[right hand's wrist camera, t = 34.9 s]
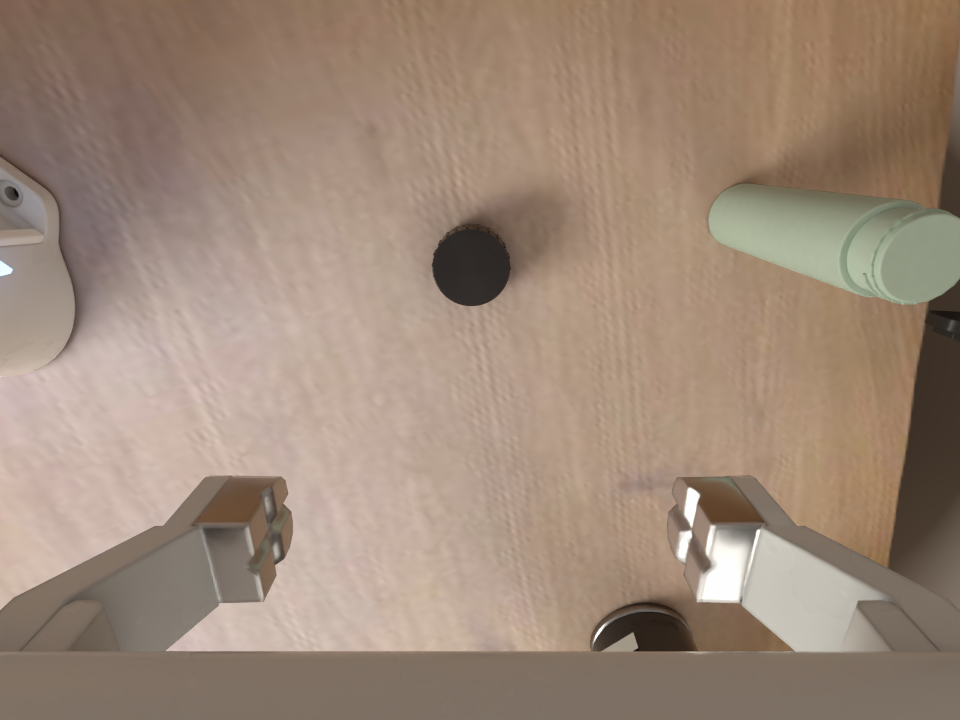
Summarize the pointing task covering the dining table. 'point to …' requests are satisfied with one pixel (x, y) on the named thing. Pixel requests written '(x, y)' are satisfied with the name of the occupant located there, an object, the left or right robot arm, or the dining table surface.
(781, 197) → the green bottle
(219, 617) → the dining table surface
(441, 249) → the lid
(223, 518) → the right robot arm
